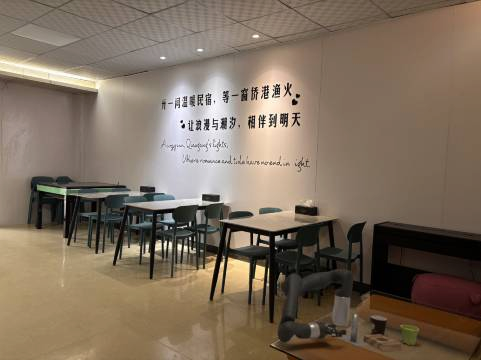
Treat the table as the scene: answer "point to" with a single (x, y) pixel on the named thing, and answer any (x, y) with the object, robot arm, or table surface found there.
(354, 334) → the steel pin
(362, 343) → the mat
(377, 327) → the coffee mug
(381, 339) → the socket block
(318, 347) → the table surface
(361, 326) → the table surface
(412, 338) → the plant pot
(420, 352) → the table surface
